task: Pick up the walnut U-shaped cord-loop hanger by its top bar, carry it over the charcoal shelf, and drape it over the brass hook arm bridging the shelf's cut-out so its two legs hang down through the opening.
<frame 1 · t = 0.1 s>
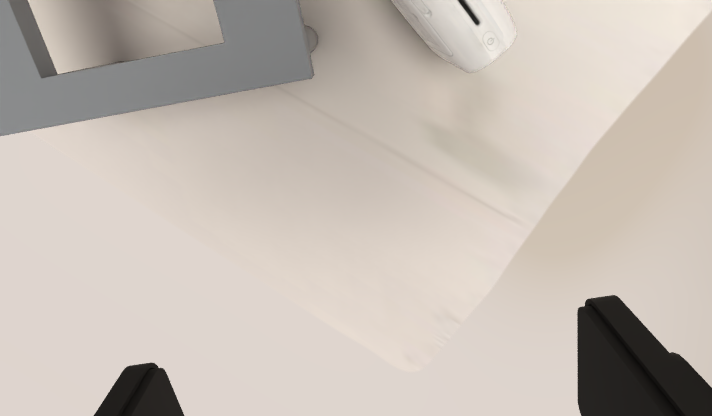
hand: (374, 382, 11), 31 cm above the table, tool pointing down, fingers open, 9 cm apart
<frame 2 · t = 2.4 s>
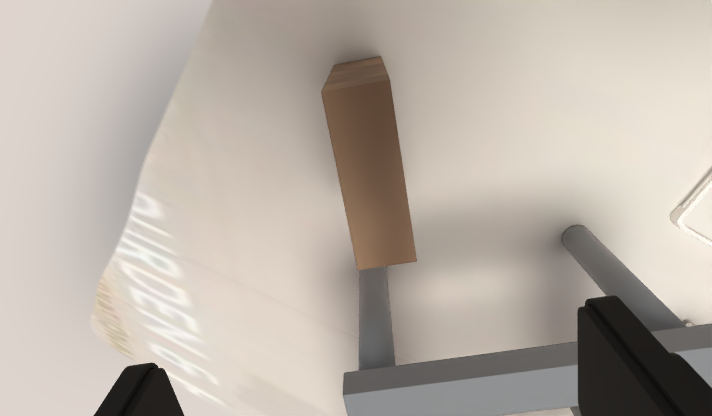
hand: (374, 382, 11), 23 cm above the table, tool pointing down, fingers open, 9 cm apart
walnut hanger: (369, 129, 32), on the table
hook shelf: (480, 334, 38), on the table
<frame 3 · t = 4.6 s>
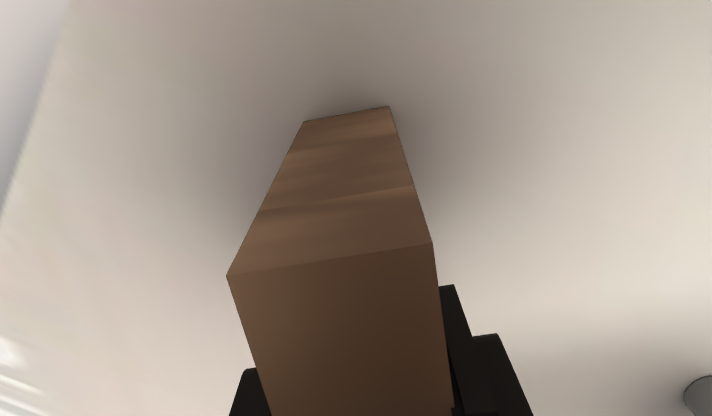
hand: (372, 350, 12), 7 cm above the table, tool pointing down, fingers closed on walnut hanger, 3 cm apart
walnut hanger: (367, 230, 18), on the table, touching gripper
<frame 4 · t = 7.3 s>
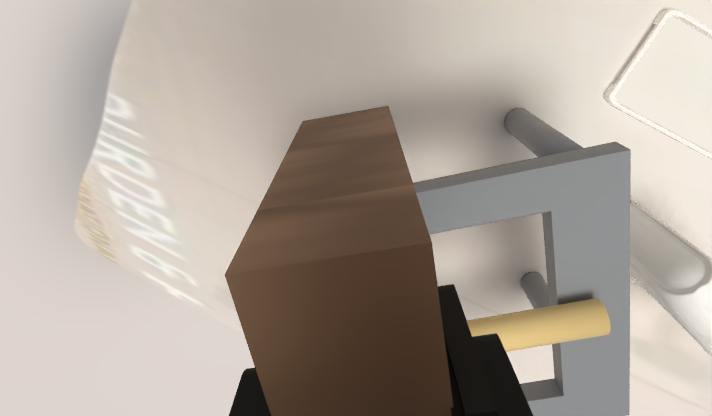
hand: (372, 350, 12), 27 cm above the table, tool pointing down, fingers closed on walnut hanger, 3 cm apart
walnut hanger: (367, 230, 18), point 21 cm above the table, touching gripper
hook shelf: (436, 224, 41), on the table
phone case: (704, 97, 37), on the table
photo printer: (639, 246, 42), on the table
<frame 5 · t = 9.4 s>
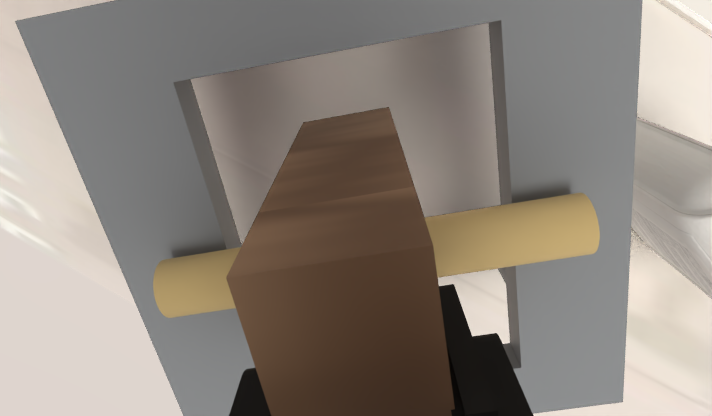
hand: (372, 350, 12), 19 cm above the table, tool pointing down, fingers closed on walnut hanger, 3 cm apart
walnut hanger: (367, 231, 18), point 13 cm above the table, touching gripper
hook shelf: (364, 140, 30), on the table
photo printer: (638, 183, 31), on the table
when the fingers open (17 cm above the table, at t = 10.1 s): walnut hanger drops 2 cm, resting on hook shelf.
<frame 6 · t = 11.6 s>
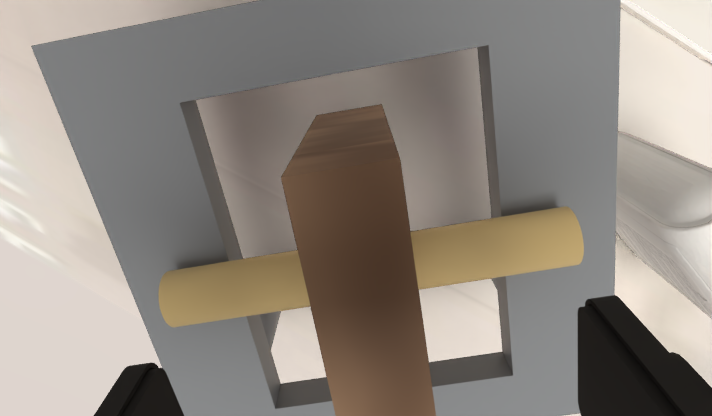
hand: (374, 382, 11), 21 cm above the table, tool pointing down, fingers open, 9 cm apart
walnut hanger: (364, 202, 23), point 8 cm above the table, touching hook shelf
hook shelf: (361, 155, 30), on the table
photo printer: (627, 196, 32), on the table
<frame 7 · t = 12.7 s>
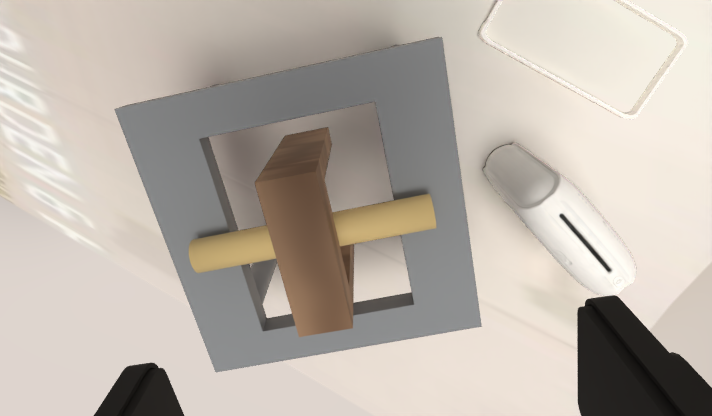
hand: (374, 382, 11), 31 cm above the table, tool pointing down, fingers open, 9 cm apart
walnut hanger: (321, 192, 34), point 8 cm above the table, touching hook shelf
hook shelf: (327, 164, 41), on the table
phone case: (576, 37, 38), on the table
photo printer: (528, 189, 42), on the table
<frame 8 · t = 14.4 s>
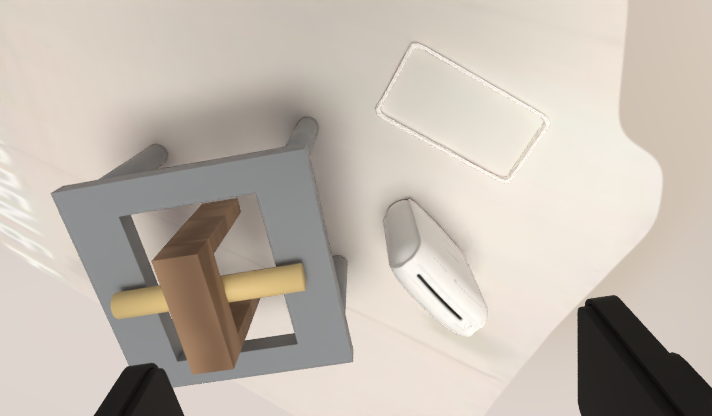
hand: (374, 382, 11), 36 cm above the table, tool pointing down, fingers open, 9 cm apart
walnut hanger: (233, 249, 41), point 8 cm above the table, touching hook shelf
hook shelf: (252, 211, 49), on the table
phone case: (460, 114, 45), on the table
photo printer: (424, 236, 50), on the table
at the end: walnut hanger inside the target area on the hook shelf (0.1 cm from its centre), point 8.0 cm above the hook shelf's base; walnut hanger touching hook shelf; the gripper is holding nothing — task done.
